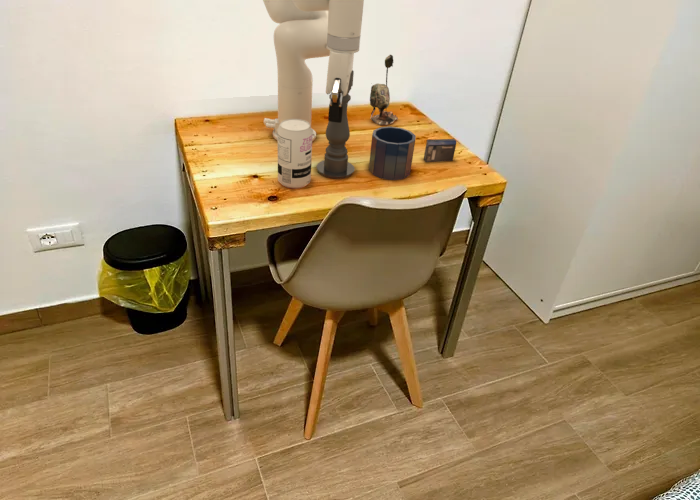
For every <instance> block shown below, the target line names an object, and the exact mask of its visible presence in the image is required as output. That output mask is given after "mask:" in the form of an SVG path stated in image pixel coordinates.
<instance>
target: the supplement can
mask: <svg viewBox="0 0 700 500" xmlns="http://www.w3.org/2000/svg"><path fill="white" fill-rule="evenodd" d="M311 128H312V126H311V127H310V124H309V123H308V122H307V121H304V120H300V119H287V120H284V121H282V122H281V123H280V126H279V127H278V129H277V139H278V141H277V181H278V182H279V184H281V185H282V186H283V187H285V188H288V189H302V188H304V187H306V186H307V185H308V184H310V182H311V181H312V159H313V141H312V133H313V132H312V129H313V128H312V129H311Z"/></svg>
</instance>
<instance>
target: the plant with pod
mask: <svg viewBox="0 0 700 500" xmlns="http://www.w3.org/2000/svg"><path fill="white" fill-rule="evenodd" d="M384 66H385V68H386V70H385V71H386V74H385V83H375V84H372V83H371V84H372V85H371V87H370V94H369V105H370V107H372V110H371V115H370V117H369V119H370V120H371V121H372V122H373V123H375V124H377V125H380V126H388V125H391V124H393V123H394V122H395V121H397V120H399V118H398V116H397V114H394V113H393V111H391V110H390V111H388V110H387V109H388V108H389V106H390V101H391V96H390V88H389V87H388V74H389V73H388V72H389V69H390V68H391V67H392V68H393V67H394V56H393V55H392V54H389V55H388V56H386V57H385V59H384ZM376 108H377V109H378V112H379V113H378V114H376V115H375V113H376Z"/></svg>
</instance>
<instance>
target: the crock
mask: <svg viewBox="0 0 700 500" xmlns="http://www.w3.org/2000/svg"><path fill="white" fill-rule="evenodd" d="M416 137H417V135H416V134H415V133H414V132H412V131H410V130H409V129H405V128H403V127H398V126H381V127H377V128H375V129H373V131H372V135H371V143H370V153H369V162H368V171H369V172H370V174H371V175H373V176H374V177H377V178H379V179H382V180H387V181H401V180H405V179H407V178H408V177H410V176H411V170H412V165H413V159H414V158H413V157H414V152H415V151H414V150H415V144H416Z"/></svg>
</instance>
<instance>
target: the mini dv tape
mask: <svg viewBox="0 0 700 500" xmlns="http://www.w3.org/2000/svg"><path fill="white" fill-rule="evenodd" d="M456 147H457V140H456V139H455V138H439V139H438V138H437V139H426V143H425V149H424V155H423V161H424V162H425V163H436V162H437V163H438V162H439V163H440V162H453V161H454V156H455V151H456Z"/></svg>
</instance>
